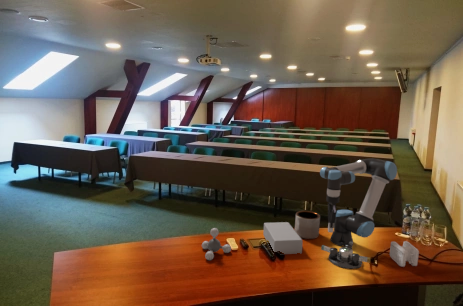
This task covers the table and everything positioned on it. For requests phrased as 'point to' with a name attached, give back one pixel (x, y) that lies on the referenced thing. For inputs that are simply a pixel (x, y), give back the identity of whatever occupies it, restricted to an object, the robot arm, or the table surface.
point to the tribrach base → (344, 264)
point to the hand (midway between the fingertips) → (330, 231)
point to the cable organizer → (404, 253)
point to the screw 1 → (349, 245)
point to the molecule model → (214, 245)
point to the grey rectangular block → (330, 251)
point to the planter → (307, 224)
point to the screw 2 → (358, 259)
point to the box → (283, 238)
